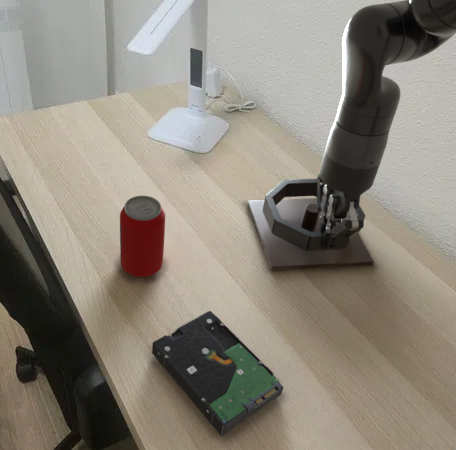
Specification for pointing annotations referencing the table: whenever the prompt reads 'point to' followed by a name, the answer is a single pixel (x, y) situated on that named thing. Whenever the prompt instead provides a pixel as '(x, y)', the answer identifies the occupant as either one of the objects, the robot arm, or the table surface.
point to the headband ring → (290, 230)
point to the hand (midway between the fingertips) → (325, 244)
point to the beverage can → (142, 236)
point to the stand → (309, 220)
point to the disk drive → (217, 371)
